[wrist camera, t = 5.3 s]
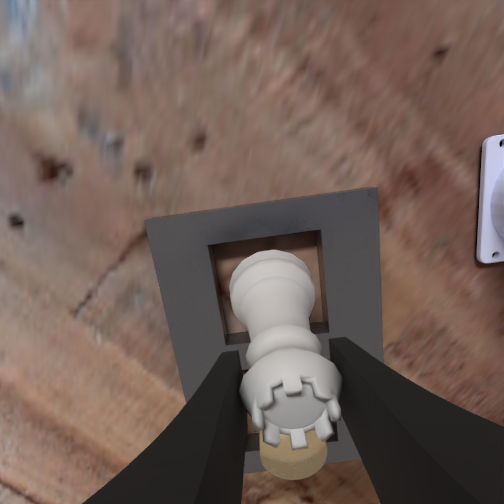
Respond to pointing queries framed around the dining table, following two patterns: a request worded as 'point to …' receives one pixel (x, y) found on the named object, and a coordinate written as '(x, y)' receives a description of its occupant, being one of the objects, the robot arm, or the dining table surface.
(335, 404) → the rook chess piece
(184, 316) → the bolt plate
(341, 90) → the dining table surface
